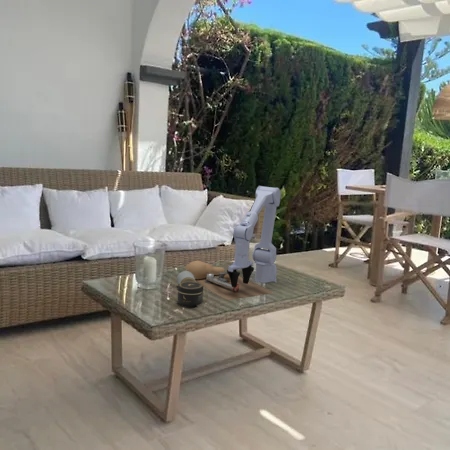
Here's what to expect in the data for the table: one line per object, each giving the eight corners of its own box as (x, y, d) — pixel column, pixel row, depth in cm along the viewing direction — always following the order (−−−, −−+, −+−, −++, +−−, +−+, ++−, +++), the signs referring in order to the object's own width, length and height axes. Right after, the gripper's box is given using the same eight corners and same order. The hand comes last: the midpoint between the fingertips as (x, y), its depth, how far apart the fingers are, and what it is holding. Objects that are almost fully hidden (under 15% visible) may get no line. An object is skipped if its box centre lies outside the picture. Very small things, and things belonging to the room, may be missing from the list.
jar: (172, 305, 189) (173, 286, 188) (183, 297, 199) (184, 279, 197) (196, 309, 186) (197, 290, 185) (206, 301, 195) (207, 283, 194)
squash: (179, 279, 225) (180, 259, 226) (214, 278, 238) (215, 260, 238) (193, 281, 217) (194, 260, 217) (228, 280, 229) (229, 261, 230)
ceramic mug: (179, 294, 203) (180, 276, 202) (176, 287, 211) (177, 270, 209) (204, 293, 206) (205, 275, 205) (200, 287, 214) (201, 270, 212)
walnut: (228, 279, 223) (228, 272, 223) (231, 281, 221) (232, 274, 220) (222, 280, 222) (222, 273, 221) (225, 282, 219) (226, 275, 218)
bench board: (238, 277, 231) (238, 269, 231) (274, 295, 208) (275, 286, 207) (193, 283, 219) (193, 274, 218) (226, 302, 195) (227, 293, 195)
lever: (204, 280, 218) (205, 273, 218) (213, 278, 222) (213, 272, 221) (235, 292, 204) (235, 285, 203) (243, 290, 207) (243, 283, 206)
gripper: (244, 249, 213) (243, 279, 215) (223, 254, 202) (221, 286, 204) (258, 252, 208) (255, 283, 211) (236, 257, 197) (234, 290, 200)
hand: (239, 285), depth 207 cm, fingers open, 7 cm apart
